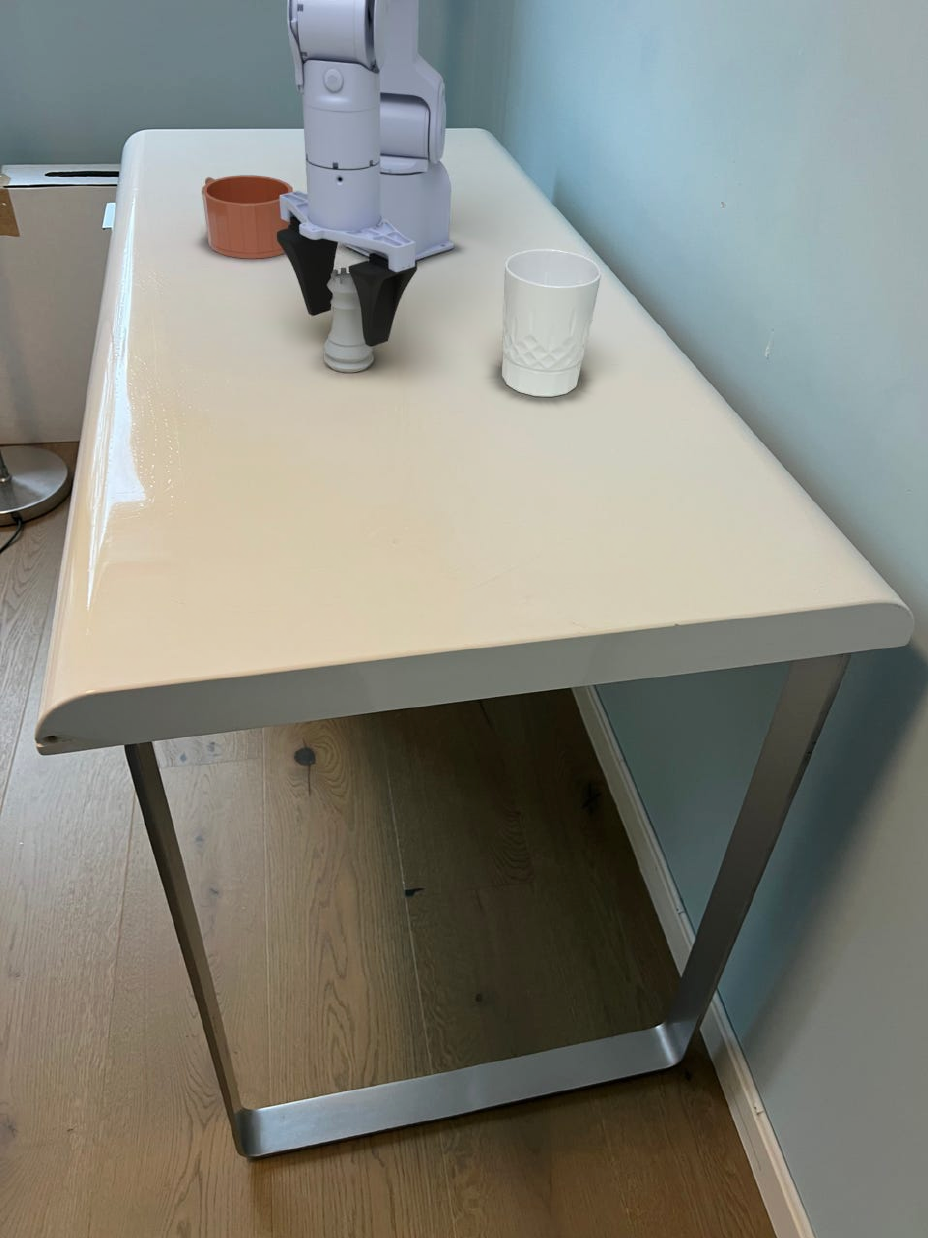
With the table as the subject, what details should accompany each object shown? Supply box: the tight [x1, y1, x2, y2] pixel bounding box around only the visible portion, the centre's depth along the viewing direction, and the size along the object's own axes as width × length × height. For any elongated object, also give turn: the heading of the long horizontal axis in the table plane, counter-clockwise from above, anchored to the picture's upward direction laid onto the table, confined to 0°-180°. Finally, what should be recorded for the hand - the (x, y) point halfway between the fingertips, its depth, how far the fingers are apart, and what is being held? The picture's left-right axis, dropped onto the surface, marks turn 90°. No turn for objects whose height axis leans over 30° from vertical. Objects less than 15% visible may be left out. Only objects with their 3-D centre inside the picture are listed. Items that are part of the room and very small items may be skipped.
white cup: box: [501, 248, 602, 398], centre depth 80 cm, size 8×8×10 cm
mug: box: [201, 174, 294, 260], centre depth 102 cm, size 12×9×6 cm
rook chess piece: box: [322, 267, 375, 374], centre depth 81 cm, size 4×4×8 cm
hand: (347, 326), depth 81 cm, fingers open, 7 cm apart
